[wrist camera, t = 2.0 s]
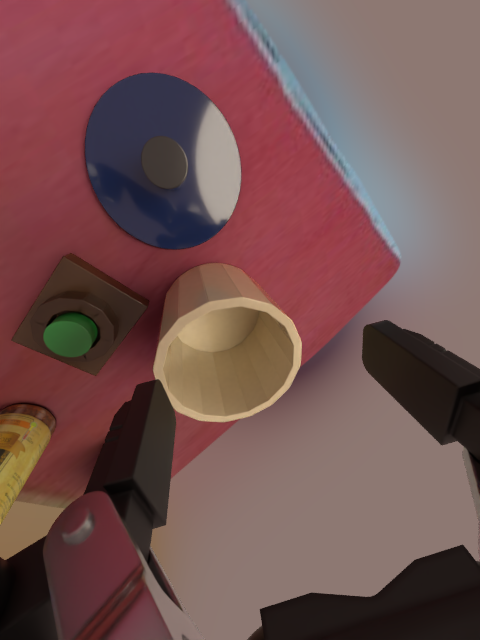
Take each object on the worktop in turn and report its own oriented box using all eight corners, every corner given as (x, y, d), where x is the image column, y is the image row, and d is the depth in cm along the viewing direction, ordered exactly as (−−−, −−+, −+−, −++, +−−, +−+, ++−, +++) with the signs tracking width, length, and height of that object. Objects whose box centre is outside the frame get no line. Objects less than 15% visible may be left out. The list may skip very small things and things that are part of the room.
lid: (59, 180, 20) (3, 171, 13) (145, 30, 17) (124, -67, 11) (186, 272, 25) (188, 296, 19) (265, 169, 23) (298, 157, 16)
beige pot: (142, 323, 26) (121, 389, 17) (206, 239, 24) (222, 263, 15) (222, 368, 31) (239, 437, 22) (281, 302, 29) (328, 349, 20)
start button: (45, 334, 22) (34, 345, 20) (64, 304, 21) (55, 313, 19) (85, 353, 23) (79, 363, 22) (105, 325, 23) (100, 334, 21)
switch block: (21, 332, 24) (-3, 351, 21) (71, 252, 22) (53, 260, 19) (100, 366, 28) (90, 387, 25) (149, 300, 26) (145, 314, 22)
